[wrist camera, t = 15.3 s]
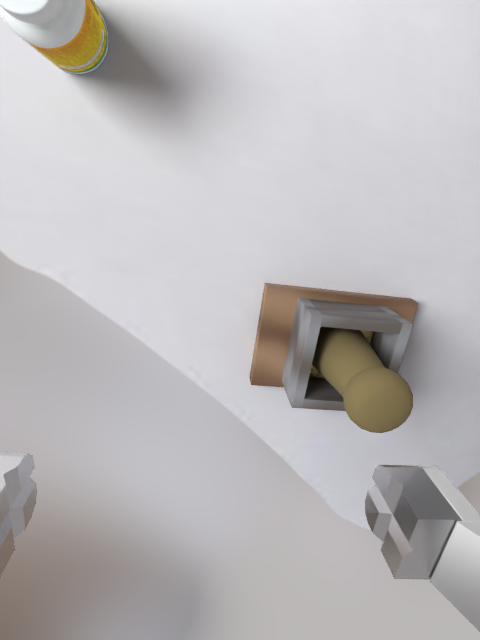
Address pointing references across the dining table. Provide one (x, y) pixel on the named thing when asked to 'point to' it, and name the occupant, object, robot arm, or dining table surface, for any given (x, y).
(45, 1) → the supplement bottle
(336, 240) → the dining table surface
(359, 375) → the tan rounded piece
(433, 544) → the robot arm
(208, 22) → the dining table surface
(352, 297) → the holder
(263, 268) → the dining table surface
